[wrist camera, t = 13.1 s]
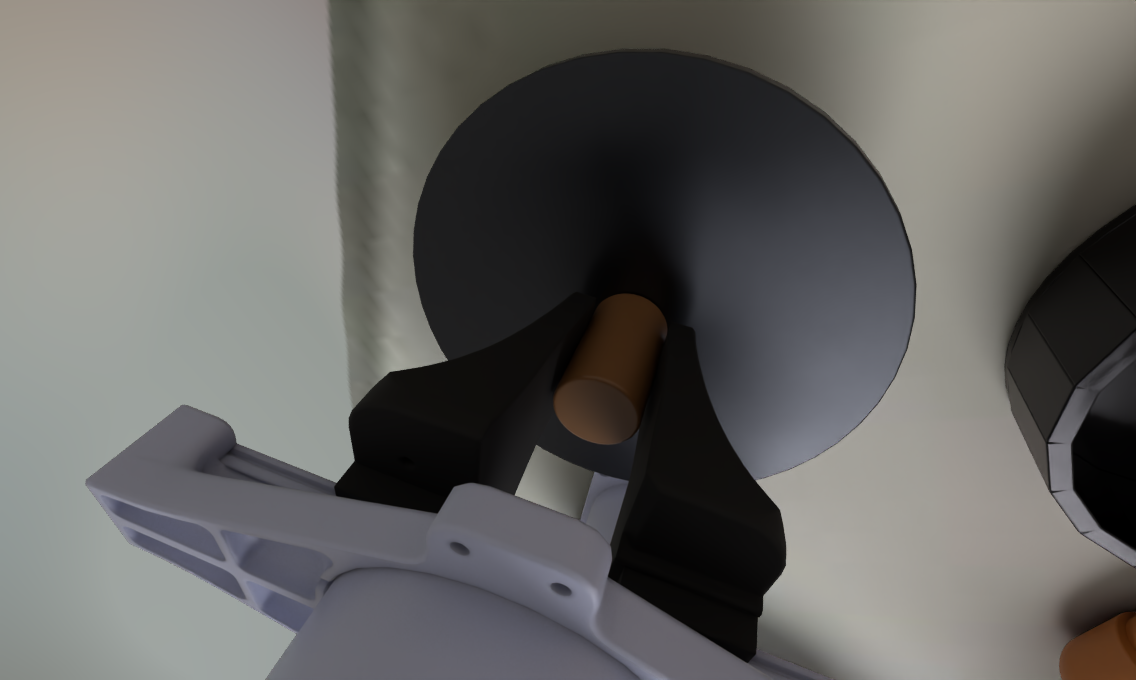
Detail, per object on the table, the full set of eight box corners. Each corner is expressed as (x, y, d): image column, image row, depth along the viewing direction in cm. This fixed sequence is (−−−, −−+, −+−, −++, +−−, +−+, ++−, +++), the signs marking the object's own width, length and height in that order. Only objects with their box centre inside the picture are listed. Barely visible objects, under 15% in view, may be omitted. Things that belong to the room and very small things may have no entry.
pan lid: (777, 513, 20) (775, 646, 16) (433, 391, 22) (362, 484, 18) (1053, 128, 11) (1194, 230, 7) (424, -16, 13) (279, 4, 9)
